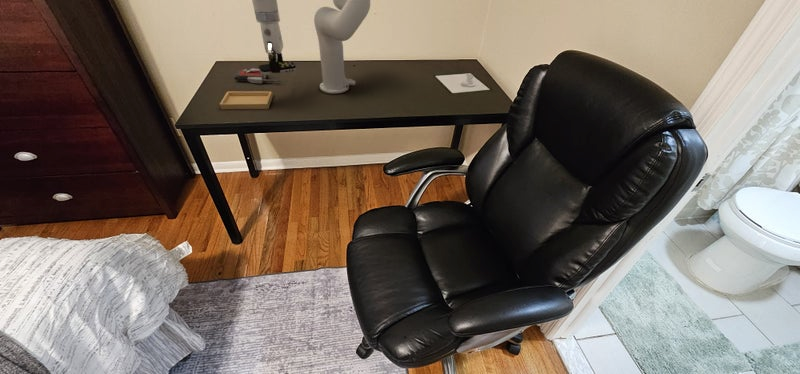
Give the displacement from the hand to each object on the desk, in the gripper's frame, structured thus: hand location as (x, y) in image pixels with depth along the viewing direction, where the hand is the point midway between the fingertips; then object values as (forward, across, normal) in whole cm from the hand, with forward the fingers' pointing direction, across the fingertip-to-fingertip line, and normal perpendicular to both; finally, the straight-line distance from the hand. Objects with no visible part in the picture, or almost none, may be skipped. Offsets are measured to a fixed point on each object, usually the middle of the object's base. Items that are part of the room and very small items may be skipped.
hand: (277, 67), depth 116 cm
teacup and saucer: (+14, +19, -81) cm, 84 cm away
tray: (+14, 0, +14) cm, 20 cm away
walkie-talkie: (+14, +22, +13) cm, 29 cm away
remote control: (+1, 0, 0) cm, 1 cm away
